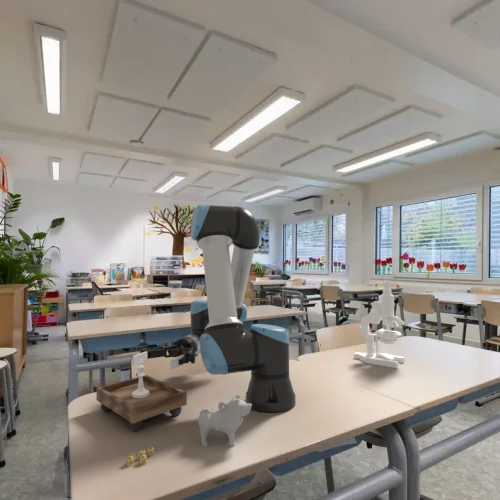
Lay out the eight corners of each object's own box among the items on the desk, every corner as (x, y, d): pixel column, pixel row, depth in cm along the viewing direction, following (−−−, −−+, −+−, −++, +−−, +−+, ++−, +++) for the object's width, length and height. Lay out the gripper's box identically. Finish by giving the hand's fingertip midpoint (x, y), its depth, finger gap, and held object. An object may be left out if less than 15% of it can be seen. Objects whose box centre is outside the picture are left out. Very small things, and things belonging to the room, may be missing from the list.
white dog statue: (251, 447, 80) (251, 400, 80) (196, 446, 81) (196, 400, 81) (252, 436, 85) (252, 392, 86) (200, 435, 86) (200, 391, 86)
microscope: (376, 369, 138) (374, 281, 139) (351, 357, 157) (350, 279, 158) (415, 366, 142) (413, 280, 143) (386, 354, 161) (384, 278, 162)
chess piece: (153, 392, 101) (153, 357, 101) (143, 399, 96) (143, 362, 97) (138, 391, 102) (138, 356, 103) (127, 397, 98) (128, 361, 98)
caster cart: (186, 415, 97) (186, 391, 97) (132, 436, 86) (132, 409, 86) (146, 395, 112) (146, 375, 113) (96, 410, 101) (96, 387, 101)
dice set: (154, 455, 78) (154, 446, 78) (148, 468, 73) (148, 459, 73) (132, 456, 78) (132, 447, 78) (124, 469, 73) (124, 459, 73)
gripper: (219, 360, 121) (188, 379, 101) (158, 354, 129) (118, 371, 109) (219, 338, 121) (188, 353, 101) (158, 334, 129) (118, 347, 109)
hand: (152, 362), depth 105 cm, fingers open, 13 cm apart
